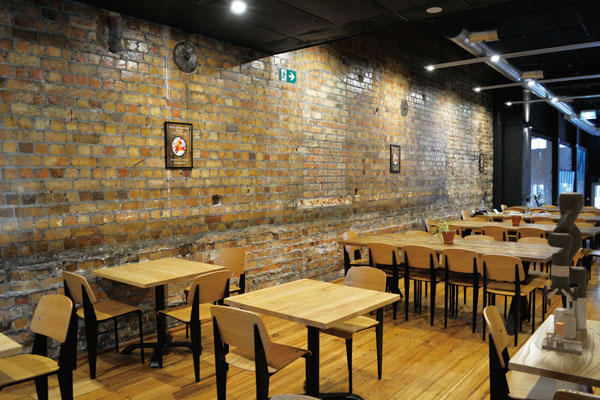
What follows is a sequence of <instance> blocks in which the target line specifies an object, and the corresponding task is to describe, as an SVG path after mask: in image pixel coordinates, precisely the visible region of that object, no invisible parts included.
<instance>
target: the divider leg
mask: <svg viewBox="0 0 600 400" xmlns="http://www.w3.org/2000/svg"><path fill="white" fill-rule="evenodd" d="M555 338H556V343H558V345H560V344H563V343H564V340H565V338H564V323H560V322H556V332H555Z"/></svg>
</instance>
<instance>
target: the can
mask: <svg viewBox="0 0 600 400" xmlns="http://www.w3.org/2000/svg"><path fill="white" fill-rule="evenodd" d="M559 322H560V323H564V340H574V339H575V338H576V336H577V331H576V330H577V329H576V318H575V317H574V315H573V314H570V313H561V314H560V316H559Z"/></svg>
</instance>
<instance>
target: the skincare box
mask: <svg viewBox="0 0 600 400" xmlns="http://www.w3.org/2000/svg"><path fill="white" fill-rule="evenodd" d="M561 313H568V309H566V308H564V307H557V308H554V309H553V331H554V333H556V322H559V316H560V314H561Z"/></svg>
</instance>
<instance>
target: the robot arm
mask: <svg viewBox="0 0 600 400" xmlns="http://www.w3.org/2000/svg"><path fill="white" fill-rule="evenodd" d="M584 204H585V198H584V194H583V193H582V192H560V193H559V195H558V209H559V219H558V220H557V222H556V225H555V227H554V229H553V230H552V231H551V232H549V234H548V236H547V239H546V241H547V244H548V246H549V247H551V248H558V249H559V248H560V249H562V251H557V252H553V253H552V254H551V268H550V275H551V276H550V278H551V279H550V280H551V281H550V282H551V283H550V285H549V284H544V285H543V294H542V296H543V297H544V298H546V300H547V304H546V305H547V306H548V307H550V308H551V306H552V297H553V296H562V297H563V296H565V297H566V307H565V309H568V313H570V314H573V315H574V317H575V318H576V330H579V331H580V330H581V331H582V330H586V329H587V315H588V314H587V312H588V310H587V308H588V307H587V305H588V303H587V300H588V299H587V296H588V295H587V293H588V292H587V289H588V287H587V286H588V270H587V268H586V267H583V266H572V261H573V259H574V257H576V255H577V254H578V252H579V251H580V250H581V248H582V246H583V234H582V231H581V229H580V228H579V227H578V225H577V224H576V220H577V219H578V217H579V215H580V214H581V211H582V210H583V208H584ZM570 284H575V285H578V287H576V286H575V287H571V286H570ZM549 289H550V290H551V292H550V293H549V294H547V291H548V290H549Z"/></svg>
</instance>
